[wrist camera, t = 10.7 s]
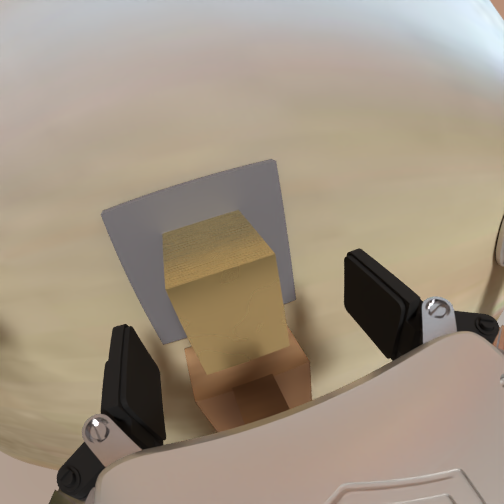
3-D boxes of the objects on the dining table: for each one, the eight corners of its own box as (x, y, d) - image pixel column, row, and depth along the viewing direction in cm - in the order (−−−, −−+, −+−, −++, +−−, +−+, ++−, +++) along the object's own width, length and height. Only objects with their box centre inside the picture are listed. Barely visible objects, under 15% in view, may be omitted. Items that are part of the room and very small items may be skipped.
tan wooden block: (238, 210, 14) (275, 253, 10) (256, 287, 17) (289, 345, 12) (162, 233, 14) (165, 289, 9) (191, 309, 16) (206, 374, 12)
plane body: (280, 312, 19) (352, 425, 11) (297, 421, 28) (332, 485, 20) (183, 346, 18) (213, 477, 10) (241, 441, 27) (267, 510, 19)
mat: (271, 158, 14) (275, 160, 14) (292, 294, 19) (296, 299, 18) (103, 210, 13) (100, 214, 12) (162, 338, 17) (163, 344, 17)
